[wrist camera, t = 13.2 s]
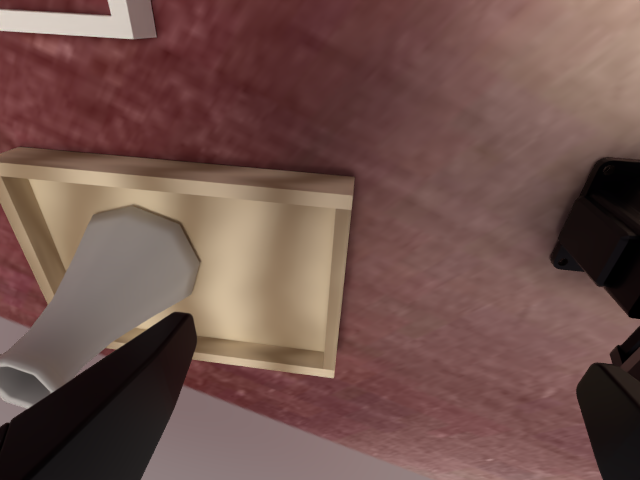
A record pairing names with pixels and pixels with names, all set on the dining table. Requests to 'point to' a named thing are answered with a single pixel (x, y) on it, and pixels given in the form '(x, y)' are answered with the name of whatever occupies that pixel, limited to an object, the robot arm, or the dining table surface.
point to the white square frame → (86, 21)
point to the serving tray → (204, 245)
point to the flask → (100, 300)
